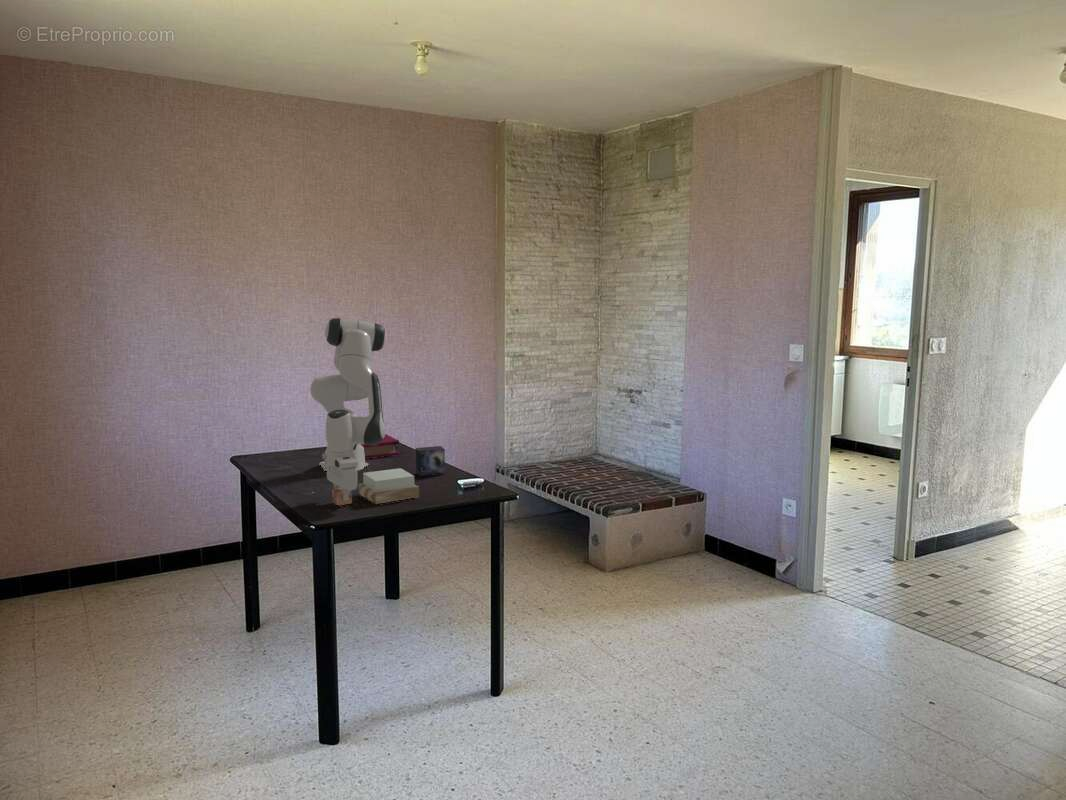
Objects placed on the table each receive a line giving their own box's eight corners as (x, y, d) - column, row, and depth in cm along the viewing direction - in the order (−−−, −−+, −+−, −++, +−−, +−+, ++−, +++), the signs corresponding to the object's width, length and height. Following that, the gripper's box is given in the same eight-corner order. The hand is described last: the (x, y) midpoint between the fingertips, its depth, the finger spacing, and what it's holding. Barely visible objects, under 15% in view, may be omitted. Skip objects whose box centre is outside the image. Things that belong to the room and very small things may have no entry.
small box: (419, 477, 298) (418, 450, 297) (415, 473, 304) (414, 447, 303) (445, 474, 302) (445, 448, 301) (441, 471, 308) (440, 445, 307)
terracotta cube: (332, 503, 262) (332, 489, 261) (346, 501, 265) (346, 487, 264) (337, 506, 258) (337, 492, 257) (352, 504, 261) (351, 490, 260)
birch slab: (359, 496, 273) (358, 484, 272) (400, 489, 282) (400, 477, 281) (376, 506, 260) (376, 493, 259) (419, 499, 269) (419, 486, 268)
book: (354, 461, 329) (353, 444, 328) (337, 450, 353) (336, 434, 352) (400, 456, 339) (400, 439, 338) (381, 445, 363) (380, 429, 362)
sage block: (363, 483, 273) (363, 472, 272) (401, 478, 279) (400, 468, 279) (375, 492, 261) (375, 481, 260) (414, 487, 267) (414, 476, 267)
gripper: (321, 454, 266) (322, 492, 268) (341, 464, 249) (343, 506, 251) (338, 452, 269) (340, 490, 271) (360, 462, 252) (361, 503, 254)
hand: (342, 497), depth 261 cm, fingers closed on terracotta cube, 5 cm apart
